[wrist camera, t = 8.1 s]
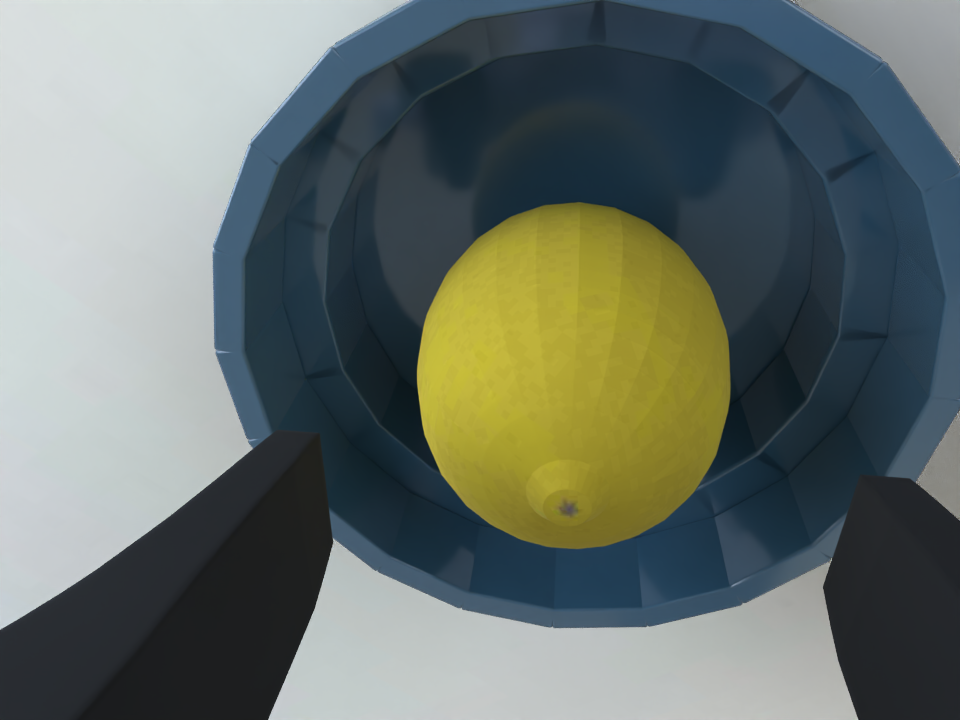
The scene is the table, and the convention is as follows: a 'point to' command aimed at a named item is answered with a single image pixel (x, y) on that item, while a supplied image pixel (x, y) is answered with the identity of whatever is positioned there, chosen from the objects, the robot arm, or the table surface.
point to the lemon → (574, 376)
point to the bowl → (635, 190)
